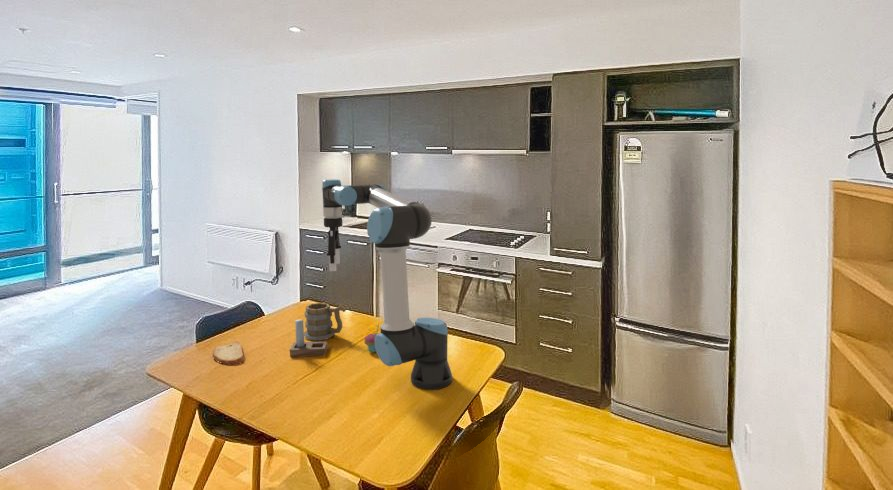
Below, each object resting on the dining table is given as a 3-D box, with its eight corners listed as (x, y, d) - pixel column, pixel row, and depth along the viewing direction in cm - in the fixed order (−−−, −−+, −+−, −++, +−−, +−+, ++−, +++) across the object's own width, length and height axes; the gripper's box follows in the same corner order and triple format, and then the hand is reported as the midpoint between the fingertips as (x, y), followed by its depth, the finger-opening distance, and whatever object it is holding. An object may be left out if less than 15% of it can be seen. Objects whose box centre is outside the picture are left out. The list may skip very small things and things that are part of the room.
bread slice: (239, 366, 195) (238, 357, 194) (197, 363, 198) (196, 354, 197) (263, 349, 212) (262, 340, 211) (224, 346, 215) (224, 337, 215)
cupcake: (386, 346, 214) (386, 320, 212) (382, 354, 206) (381, 326, 204) (367, 345, 215) (366, 319, 213) (361, 353, 207) (361, 326, 205)
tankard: (299, 338, 223) (297, 306, 220) (314, 329, 235) (313, 298, 232) (339, 343, 217) (337, 310, 215) (352, 333, 229) (351, 302, 227)
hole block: (325, 355, 205) (324, 348, 204) (290, 356, 203) (289, 349, 203) (327, 348, 212) (327, 341, 212) (294, 349, 211) (293, 342, 211)
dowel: (304, 354, 206) (302, 321, 204) (296, 354, 206) (294, 322, 203) (305, 351, 209) (303, 319, 207) (297, 351, 209) (295, 319, 206)
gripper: (338, 221, 194) (340, 273, 198) (345, 213, 218) (346, 260, 222) (319, 221, 193) (321, 274, 197) (327, 213, 217) (329, 260, 221)
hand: (334, 267), depth 209 cm, fingers open, 13 cm apart
